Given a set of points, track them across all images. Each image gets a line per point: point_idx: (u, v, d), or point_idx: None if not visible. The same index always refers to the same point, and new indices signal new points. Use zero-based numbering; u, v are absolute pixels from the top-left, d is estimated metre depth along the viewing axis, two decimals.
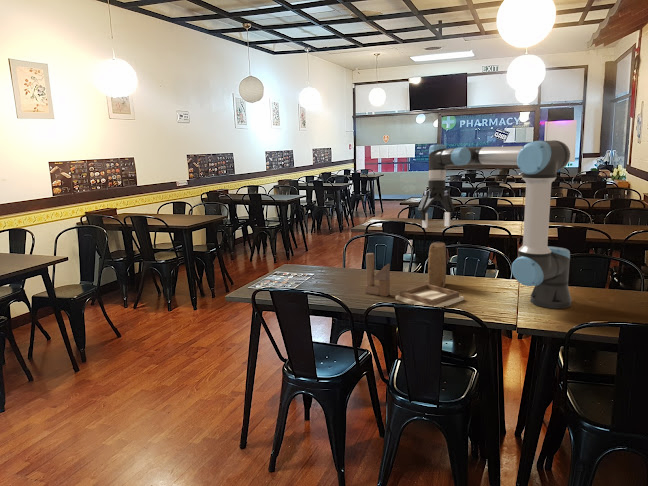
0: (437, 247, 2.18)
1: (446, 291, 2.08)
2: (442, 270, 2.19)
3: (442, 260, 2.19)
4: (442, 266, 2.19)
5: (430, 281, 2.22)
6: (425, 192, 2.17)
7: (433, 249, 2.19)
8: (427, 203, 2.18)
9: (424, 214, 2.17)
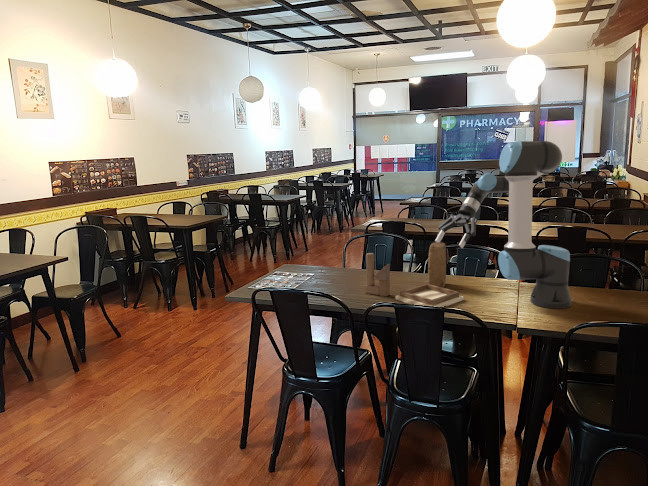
0: (437, 247, 2.18)
1: (446, 291, 2.08)
2: (442, 270, 2.19)
3: (442, 260, 2.19)
4: (442, 266, 2.19)
5: (430, 281, 2.22)
6: None
7: (433, 249, 2.19)
8: None
9: (440, 231, 2.36)
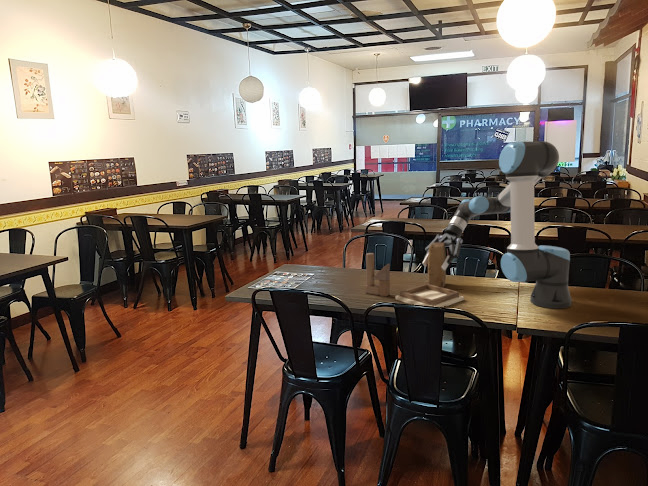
0: (436, 247, 2.18)
1: (446, 291, 2.08)
2: (442, 270, 2.19)
3: (442, 260, 2.19)
4: None
5: (430, 281, 2.22)
6: None
7: (432, 249, 2.19)
8: None
9: (427, 253, 2.29)
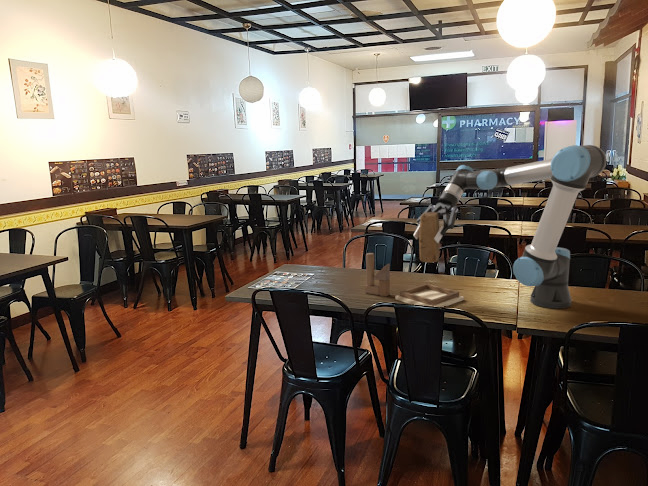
0: (429, 216, 1.95)
1: (446, 291, 2.08)
2: (435, 242, 1.96)
3: (434, 231, 1.95)
4: None
5: (422, 255, 1.99)
6: None
7: (424, 219, 1.96)
8: None
9: (419, 224, 2.06)
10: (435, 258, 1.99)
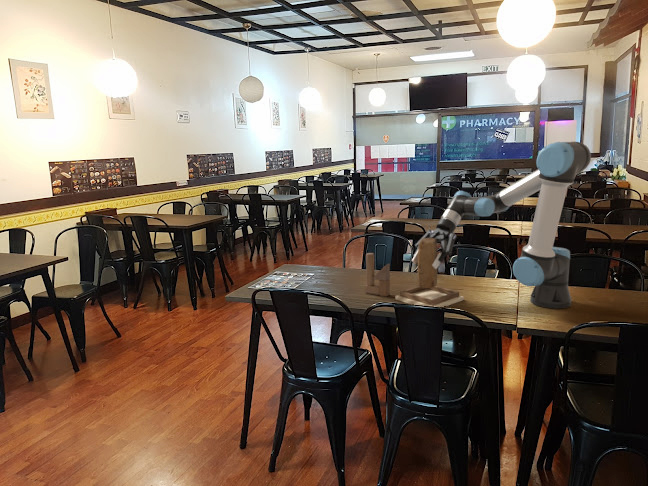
0: (427, 243, 1.98)
1: (446, 291, 2.08)
2: (433, 268, 1.99)
3: (433, 257, 1.98)
4: None
5: (420, 280, 2.02)
6: None
7: (423, 245, 1.99)
8: None
9: (417, 249, 2.09)
10: (433, 284, 2.01)
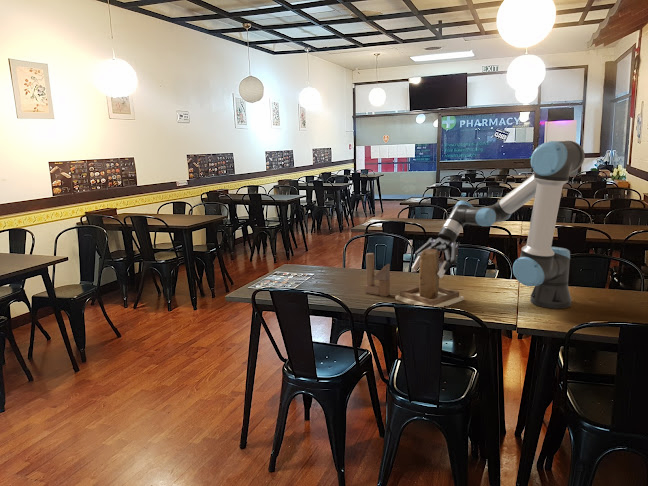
0: (429, 254, 1.98)
1: (446, 291, 2.08)
2: (434, 279, 1.99)
3: (434, 268, 1.98)
4: (434, 275, 1.99)
5: (421, 291, 2.02)
6: None
7: (424, 256, 1.99)
8: None
9: (417, 257, 2.10)
10: (434, 295, 2.02)
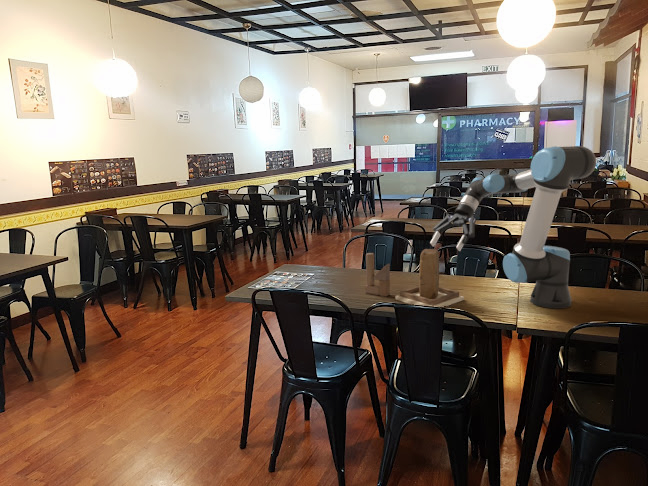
0: (429, 254, 1.98)
1: (446, 291, 2.08)
2: (434, 280, 1.99)
3: (434, 269, 1.98)
4: (434, 275, 1.99)
5: (421, 291, 2.02)
6: None
7: (424, 256, 1.99)
8: None
9: (435, 232, 2.16)
10: (434, 295, 2.02)
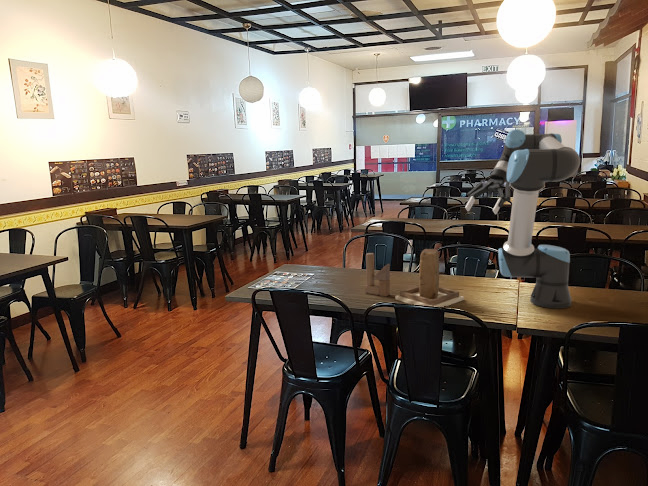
0: (429, 254, 1.98)
1: (446, 291, 2.08)
2: (434, 280, 1.99)
3: (434, 269, 1.98)
4: (434, 275, 1.99)
5: (421, 291, 2.02)
6: None
7: (424, 256, 1.99)
8: None
9: (470, 197, 2.18)
10: (434, 295, 2.02)
